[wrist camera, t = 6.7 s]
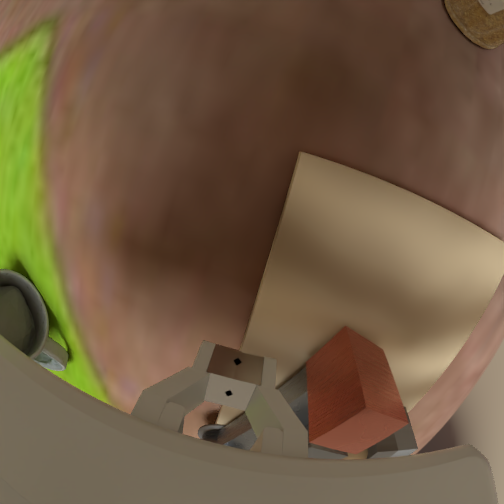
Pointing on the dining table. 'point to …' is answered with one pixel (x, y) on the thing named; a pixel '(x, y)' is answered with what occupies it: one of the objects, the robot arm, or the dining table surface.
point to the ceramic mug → (28, 321)
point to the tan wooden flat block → (369, 282)
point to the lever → (335, 400)
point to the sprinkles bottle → (479, 20)
